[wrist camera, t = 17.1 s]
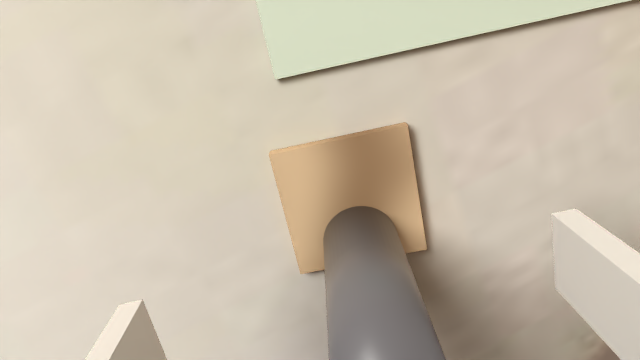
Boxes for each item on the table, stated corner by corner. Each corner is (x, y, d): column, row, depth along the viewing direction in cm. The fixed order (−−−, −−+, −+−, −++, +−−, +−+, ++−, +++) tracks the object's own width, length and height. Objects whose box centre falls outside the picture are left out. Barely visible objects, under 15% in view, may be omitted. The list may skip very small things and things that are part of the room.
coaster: (300, 267, 23) (300, 274, 22) (270, 151, 21) (268, 155, 20) (423, 243, 22) (426, 249, 22) (405, 122, 20) (407, 125, 20)
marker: (341, 285, 22) (376, 619, 10) (307, 223, 21) (302, 516, 9) (411, 256, 22) (536, 570, 10) (381, 191, 21) (480, 454, 9)
